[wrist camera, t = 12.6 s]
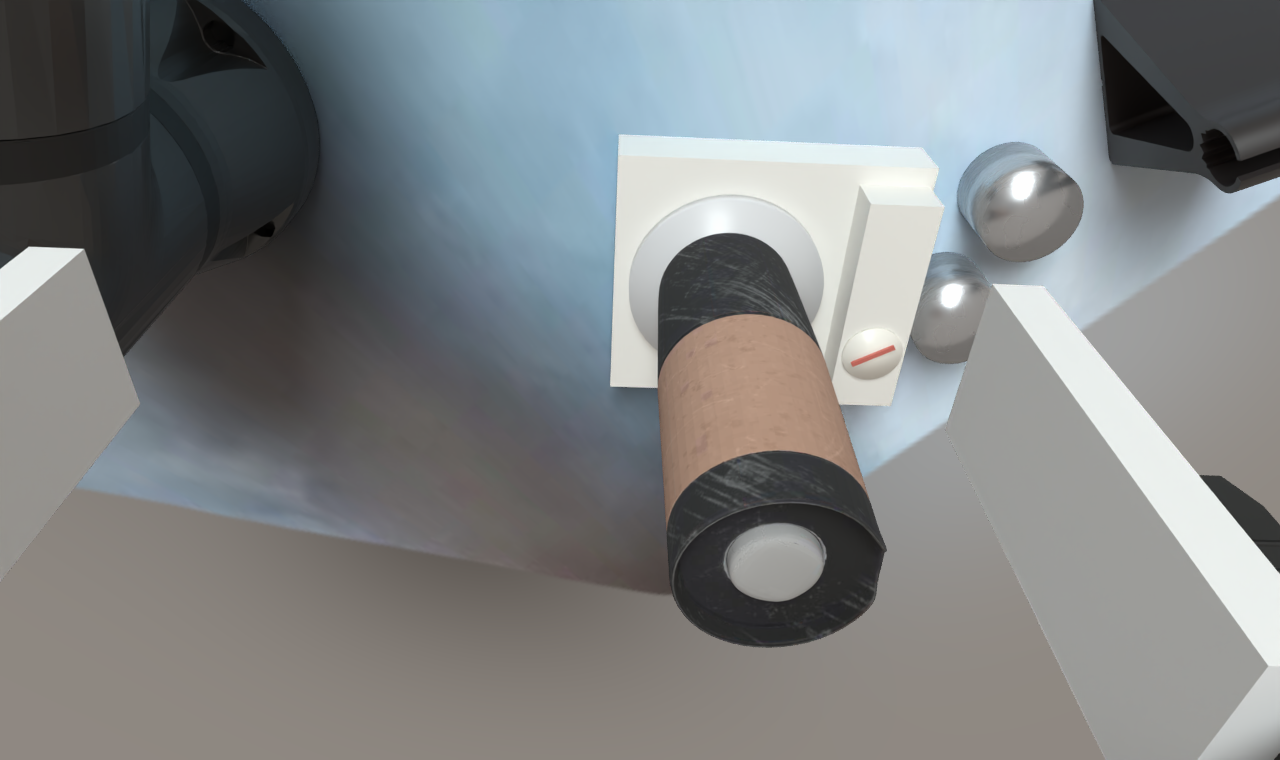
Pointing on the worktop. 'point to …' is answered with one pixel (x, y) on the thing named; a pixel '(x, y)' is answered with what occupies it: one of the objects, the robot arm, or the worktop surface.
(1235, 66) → the phone stand
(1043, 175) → the cylinder
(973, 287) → the cylinder
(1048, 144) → the worktop surface
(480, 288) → the worktop surface
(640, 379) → the scale
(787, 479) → the travel mug
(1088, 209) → the worktop surface
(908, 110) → the worktop surface
